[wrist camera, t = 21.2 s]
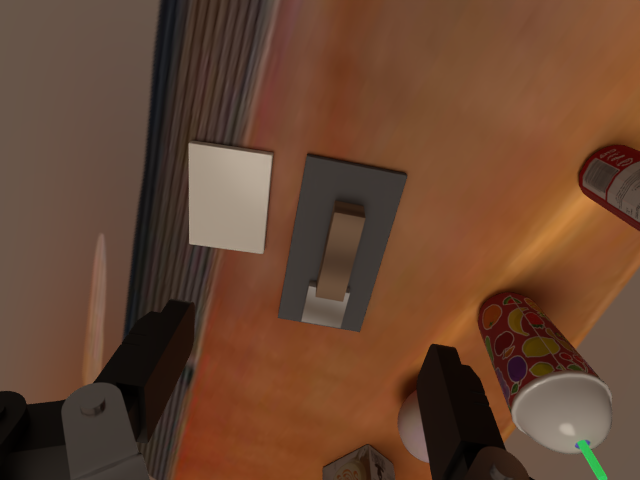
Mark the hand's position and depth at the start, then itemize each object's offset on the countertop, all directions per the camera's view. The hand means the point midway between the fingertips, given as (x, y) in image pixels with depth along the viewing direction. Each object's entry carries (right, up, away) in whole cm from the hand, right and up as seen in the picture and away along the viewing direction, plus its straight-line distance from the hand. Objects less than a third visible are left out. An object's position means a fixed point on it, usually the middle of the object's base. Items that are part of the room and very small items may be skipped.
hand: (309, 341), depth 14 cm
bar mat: (+2, +2, +31) cm, 31 cm away
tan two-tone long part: (+2, +1, +31) cm, 31 cm away
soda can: (+28, +10, +26) cm, 40 cm away
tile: (-8, +12, +26) cm, 30 cm away
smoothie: (+22, -5, +34) cm, 41 cm away
